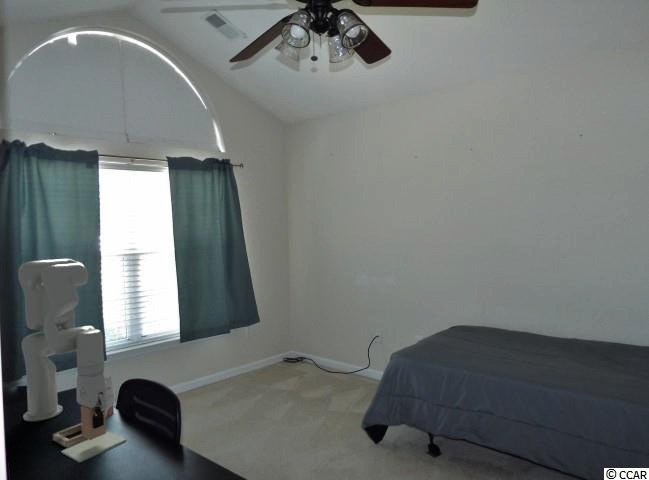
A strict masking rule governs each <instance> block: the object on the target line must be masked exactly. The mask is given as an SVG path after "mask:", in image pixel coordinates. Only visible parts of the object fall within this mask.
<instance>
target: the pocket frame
mask: <svg viewBox="0 0 649 480" xmlns="http://www.w3.org/2000/svg"><path fill="white" fill-rule="evenodd" d="M78 432H82V422H80V423H78V424H75V425H72V426H70V427H67V428H65V429H62V430H60V431H57V432H55V433H53V434H52V441H54V442H56V443H58V444H59V445H61V446H63V447H64V448H66V449H67V448H69V447H72V446H74V445H77V444H79V443H81V442H84V441H86V440H88V439H87V438H85V437H83V436H82V433H81V434H79V435H75V436H74V437H71V438H67V436H70V435H71V436H72V435H73V434H76V433H78Z"/></svg>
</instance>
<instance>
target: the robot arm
mask: <svg viewBox="0 0 649 480" xmlns="http://www.w3.org/2000/svg"><path fill="white" fill-rule="evenodd" d="M17 275H18V276H17V277H18V281H19V284H20V286H21V289H22V290H23V294H24V310H25V312H24V313H25V315H24V316H25V324H26V327H27V328H28V329H29V330H35V331H36V330H43V331H39V332H35V333H31V334H28V335H27V336H25V337H23V339H22V341H21V350H22V354H23V358H24V362H25V363H24V364H25V377H26V392H27V393H26V395H27V411H26V412H25V413H24V414H23V416H22V417H23V420H24V421H26V422H39V421H44V420H48V419H52V418H54V417H56V416H58V415H60V414H61V413H62V412H63V410H64V409H63V406H62V405H60V404H58V385H57V382H58V381H57V366H56V364H55V362H53V361H52V360H50V359H49V357H50V356H53V355H65V354H68V353H73V352H76V366H77V367H76V368H77V369H76V370H77V378H76V402H77V404H79V405H80V406H81V405H83V406H86V407H88V408H93V414H94V416H92V417H93V428H94V429H96V428H98V427H101V426H103V425H104V417H103V413H104V410H105V409H106V408H107V405H106V386H105V383H106V381H105V379H104V378H105V375H104V373H105V359H104V358H105V357H104V336H103V331H102V330H100V329H96V328H95V326H93V325H83V326H77V327H76V325H75V324H76V321H75V320H76V318H75V316H76V315H75V310H74V309H75V307H77V306H78V304H79V303H80V297H79V294H78V291H77V290H76V288H75V287H79V286H84V285H85V284H87V283H88V281H89V272H88V269H87V268H86V266H85V265H84V264H83V263H82V262H80V261H78V260H77V261H76V260H74V259H71V258H58V259H41V260H31V261H27V262H23V263H22V264H21V265H20V266H19V268H18V273H17ZM58 327H59V328H58ZM97 403H99V404H98V405H97ZM99 406H100V408H98V410H96V407H99Z"/></svg>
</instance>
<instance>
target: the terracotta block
mask: <svg viewBox="0 0 649 480" xmlns="http://www.w3.org/2000/svg"><path fill="white" fill-rule="evenodd" d="M98 404H99V403H97V405H98ZM98 408H100V406H99V407H96V410H98ZM92 416H94V414H93V408H88V407H86V406H83V405H81V404H80V417H81V418H80V419H81V422H80V423H82V431H81V434H82V436H83V437H85V438H87V440H88V439H89V440H92V439H94V438H96V437H99V436H101V435H103V434H106V432H107V427H106V424H107V423H106V418H105V410H104V413H103V417H104V425H103V426H101V427H98V428H96V429H94V428H93V417H92Z"/></svg>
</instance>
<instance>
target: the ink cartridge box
mask: <svg viewBox="0 0 649 480" xmlns="http://www.w3.org/2000/svg"><path fill="white" fill-rule="evenodd" d="M104 379H105V386H106V405H107V408H106V409H105V419H106V418H108V417H109V416H111V415H112V414H114V410H115V409H114V393H113V390H114V389H113V381H112V376H111V375H108V376H106V377H104Z"/></svg>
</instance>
